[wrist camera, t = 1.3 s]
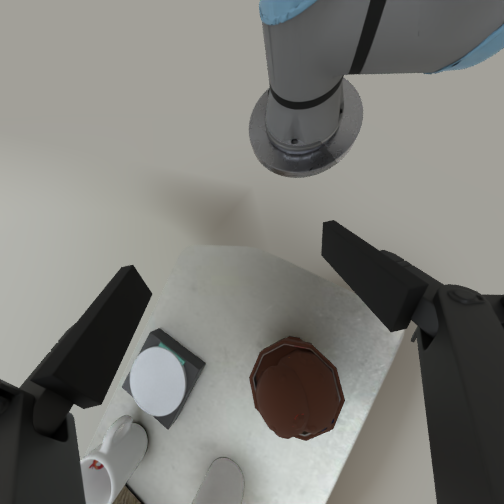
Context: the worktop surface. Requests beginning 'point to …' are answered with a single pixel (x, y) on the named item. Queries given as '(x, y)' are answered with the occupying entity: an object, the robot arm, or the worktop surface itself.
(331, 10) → the robot arm
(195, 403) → the worktop surface
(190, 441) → the worktop surface
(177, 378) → the scale
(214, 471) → the coffee cup
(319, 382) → the ice cream bowl
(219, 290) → the worktop surface
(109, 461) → the cup
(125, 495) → the hardback book
